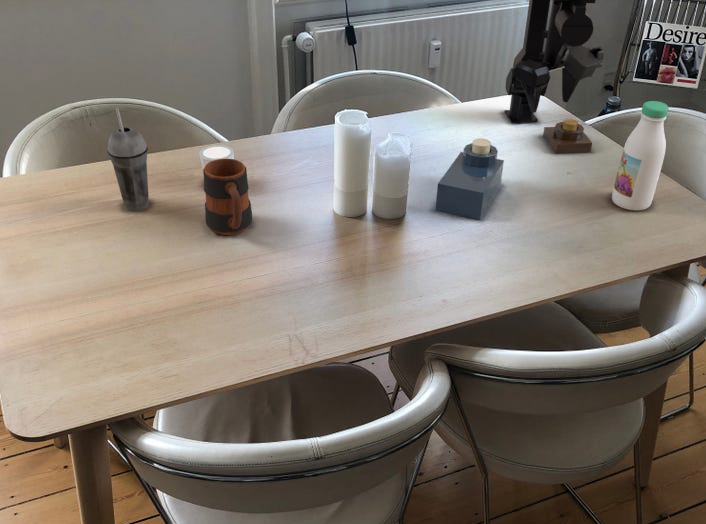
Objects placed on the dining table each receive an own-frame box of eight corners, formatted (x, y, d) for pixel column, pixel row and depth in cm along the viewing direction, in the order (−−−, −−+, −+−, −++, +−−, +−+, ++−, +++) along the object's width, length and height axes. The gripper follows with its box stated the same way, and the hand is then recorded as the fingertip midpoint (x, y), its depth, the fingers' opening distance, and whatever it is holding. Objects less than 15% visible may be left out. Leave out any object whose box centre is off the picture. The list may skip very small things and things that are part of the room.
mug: (217, 249, 149) (212, 191, 142) (201, 217, 158) (195, 161, 150) (263, 240, 152) (260, 182, 144) (245, 210, 160) (241, 153, 153)
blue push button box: (459, 175, 173) (463, 139, 168) (501, 183, 170) (507, 147, 165) (435, 210, 161) (438, 172, 156) (479, 220, 159) (485, 182, 154)
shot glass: (243, 184, 168) (241, 152, 164) (217, 195, 164) (214, 163, 160) (221, 173, 172) (218, 141, 167) (195, 184, 168) (191, 152, 163)
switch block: (542, 136, 189) (545, 119, 186) (576, 134, 189) (579, 118, 187) (555, 153, 182) (558, 136, 179) (590, 152, 183) (594, 135, 180)
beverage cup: (162, 200, 163) (148, 101, 150) (143, 217, 157) (127, 116, 145) (130, 193, 164) (113, 95, 152) (110, 210, 159) (91, 110, 146)
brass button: (559, 126, 184) (561, 118, 183) (573, 125, 185) (575, 118, 184) (564, 132, 182) (566, 124, 181) (578, 131, 182) (580, 124, 181)
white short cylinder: (474, 146, 166) (475, 136, 165) (491, 149, 165) (493, 140, 164) (469, 153, 164) (470, 144, 163) (486, 157, 163) (488, 147, 161)
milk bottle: (647, 194, 168) (673, 98, 155) (654, 212, 162) (682, 114, 150) (608, 191, 169) (631, 95, 156) (614, 210, 163) (638, 112, 150)
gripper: (561, 50, 149) (546, 132, 159) (629, 31, 157) (611, 110, 167) (516, 32, 156) (505, 112, 166) (584, 15, 164) (569, 91, 174)
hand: (549, 106), depth 168 cm, fingers open, 9 cm apart
